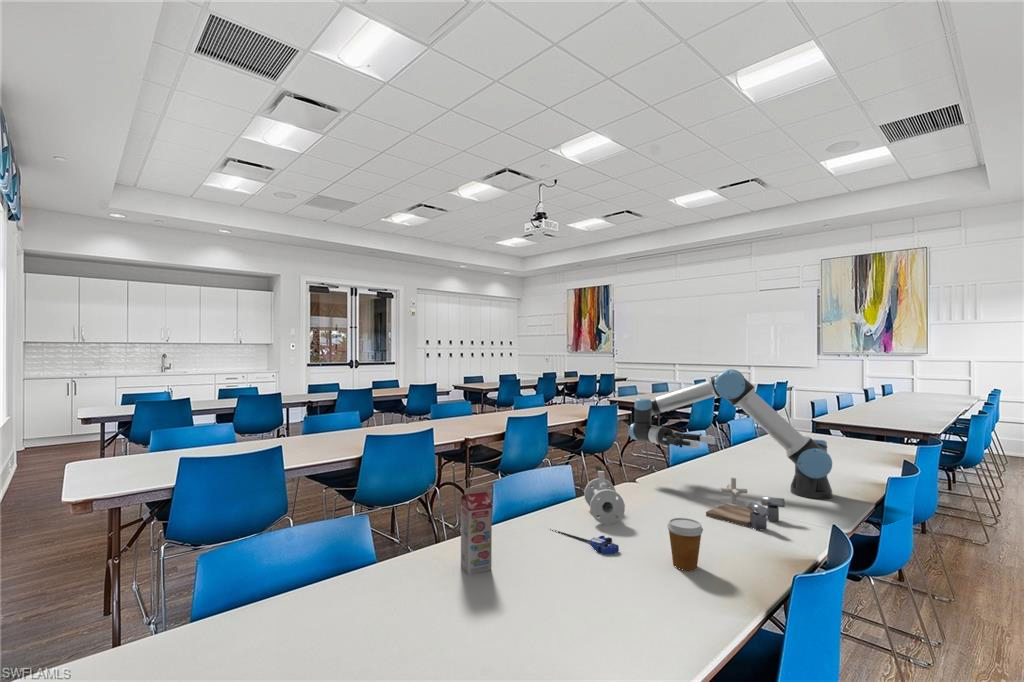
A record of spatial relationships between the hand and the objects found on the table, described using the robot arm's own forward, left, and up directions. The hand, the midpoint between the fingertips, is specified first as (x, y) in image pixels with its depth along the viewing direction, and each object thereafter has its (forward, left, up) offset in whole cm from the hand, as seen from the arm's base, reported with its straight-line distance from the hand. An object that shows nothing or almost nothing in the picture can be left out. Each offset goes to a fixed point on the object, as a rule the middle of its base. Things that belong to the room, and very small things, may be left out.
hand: (706, 442), depth 204 cm
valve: (+50, -14, -22) cm, 56 cm away
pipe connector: (0, +11, -22) cm, 25 cm away
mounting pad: (+15, +19, -22) cm, 33 cm away
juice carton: (+112, -8, -22) cm, 114 cm away
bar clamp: (+74, -5, -23) cm, 78 cm away
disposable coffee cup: (+67, +29, -22) cm, 76 cm away
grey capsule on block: (+9, +29, -22) cm, 38 cm away
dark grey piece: (+21, +29, -22) cm, 42 cm away
